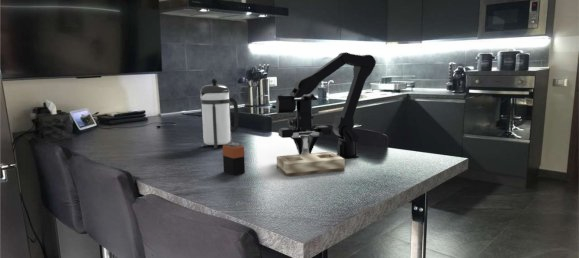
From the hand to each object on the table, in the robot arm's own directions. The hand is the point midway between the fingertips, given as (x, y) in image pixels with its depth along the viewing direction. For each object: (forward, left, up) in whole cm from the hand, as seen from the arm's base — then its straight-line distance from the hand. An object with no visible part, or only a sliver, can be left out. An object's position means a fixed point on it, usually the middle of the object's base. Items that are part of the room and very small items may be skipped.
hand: (304, 154), depth 148 cm
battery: (+28, +9, -2) cm, 29 cm away
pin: (0, 0, -2) cm, 2 cm away
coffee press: (+27, -40, -2) cm, 48 cm away
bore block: (+3, +14, -2) cm, 14 cm away
